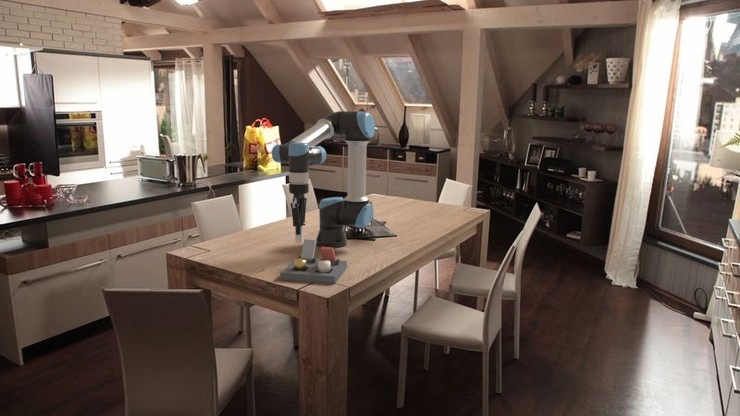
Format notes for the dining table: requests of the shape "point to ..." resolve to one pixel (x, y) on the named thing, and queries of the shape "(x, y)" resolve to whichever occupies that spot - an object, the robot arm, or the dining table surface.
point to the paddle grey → (308, 250)
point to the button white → (324, 266)
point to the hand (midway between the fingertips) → (299, 242)
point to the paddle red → (328, 254)
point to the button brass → (299, 264)
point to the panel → (314, 272)
